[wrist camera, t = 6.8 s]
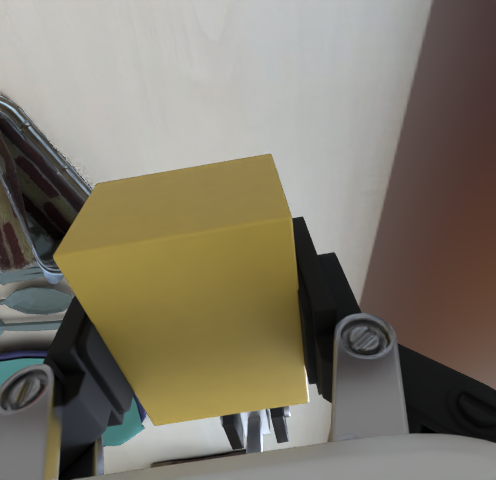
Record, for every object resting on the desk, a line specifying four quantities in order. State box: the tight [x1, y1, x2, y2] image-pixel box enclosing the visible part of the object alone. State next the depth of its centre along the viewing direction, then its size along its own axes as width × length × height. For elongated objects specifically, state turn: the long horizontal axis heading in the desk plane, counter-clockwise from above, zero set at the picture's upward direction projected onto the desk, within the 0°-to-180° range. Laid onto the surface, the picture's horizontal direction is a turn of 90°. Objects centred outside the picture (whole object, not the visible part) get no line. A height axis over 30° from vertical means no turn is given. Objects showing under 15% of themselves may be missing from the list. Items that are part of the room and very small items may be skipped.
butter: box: [53, 154, 309, 426], centre depth 11 cm, size 5×7×3 cm
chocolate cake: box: [0, 96, 93, 285], centre depth 26 cm, size 10×7×12 cm
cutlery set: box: [0, 265, 146, 447], centre depth 37 cm, size 20×30×2 cm, turn 1°
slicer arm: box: [240, 409, 270, 454], centre depth 25 cm, size 16×8×2 cm
